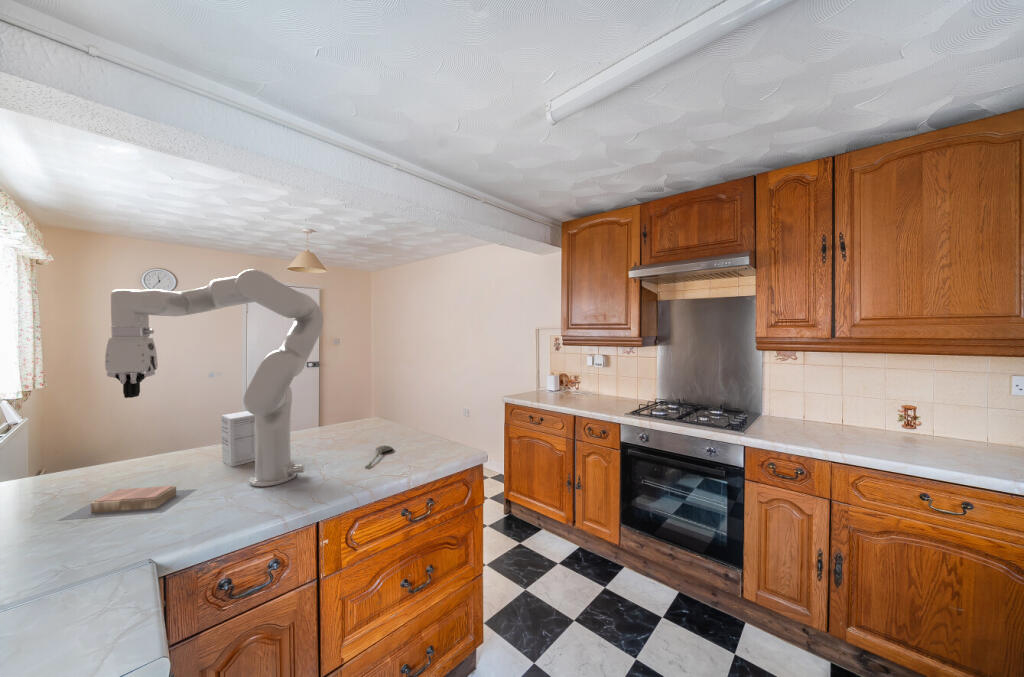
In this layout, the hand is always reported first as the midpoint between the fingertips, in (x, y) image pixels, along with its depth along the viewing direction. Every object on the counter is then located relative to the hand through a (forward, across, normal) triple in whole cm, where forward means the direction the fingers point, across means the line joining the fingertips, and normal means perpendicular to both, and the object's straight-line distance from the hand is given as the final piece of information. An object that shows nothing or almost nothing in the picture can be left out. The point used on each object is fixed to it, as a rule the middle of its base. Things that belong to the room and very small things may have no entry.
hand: (131, 396), depth 107 cm
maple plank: (+26, +1, +9) cm, 28 cm away
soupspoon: (+28, -65, -15) cm, 73 cm away
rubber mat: (+28, -6, +9) cm, 30 cm away
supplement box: (+28, -18, -23) cm, 40 cm away
